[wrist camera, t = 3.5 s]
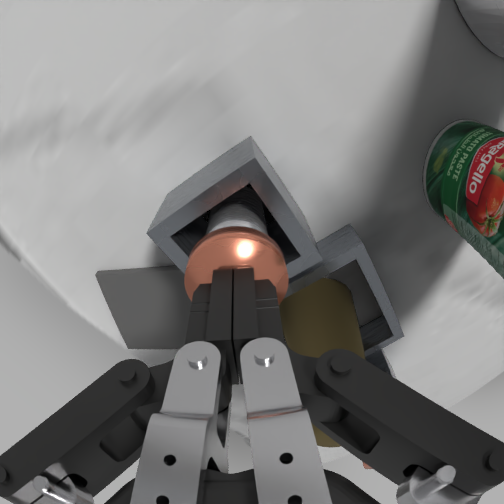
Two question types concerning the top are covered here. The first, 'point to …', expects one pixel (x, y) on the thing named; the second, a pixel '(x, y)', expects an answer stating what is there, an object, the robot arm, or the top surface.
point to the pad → (148, 305)
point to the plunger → (237, 244)
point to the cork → (321, 326)
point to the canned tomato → (469, 185)
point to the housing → (272, 234)
